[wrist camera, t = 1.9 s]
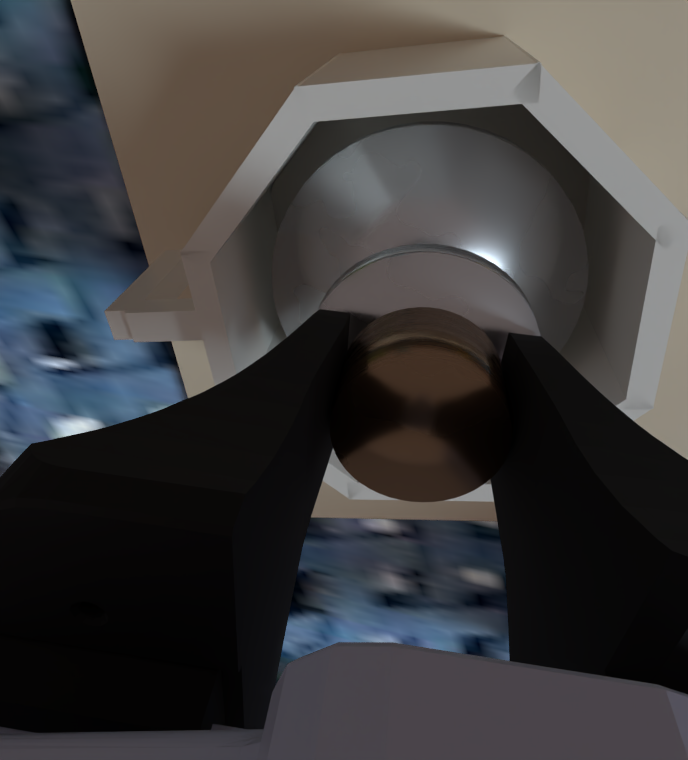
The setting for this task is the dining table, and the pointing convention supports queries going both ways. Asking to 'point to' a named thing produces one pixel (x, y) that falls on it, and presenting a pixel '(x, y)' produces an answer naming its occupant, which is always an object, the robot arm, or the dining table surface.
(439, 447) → the lid
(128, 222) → the dining table surface
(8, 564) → the robot arm
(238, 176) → the press stand
